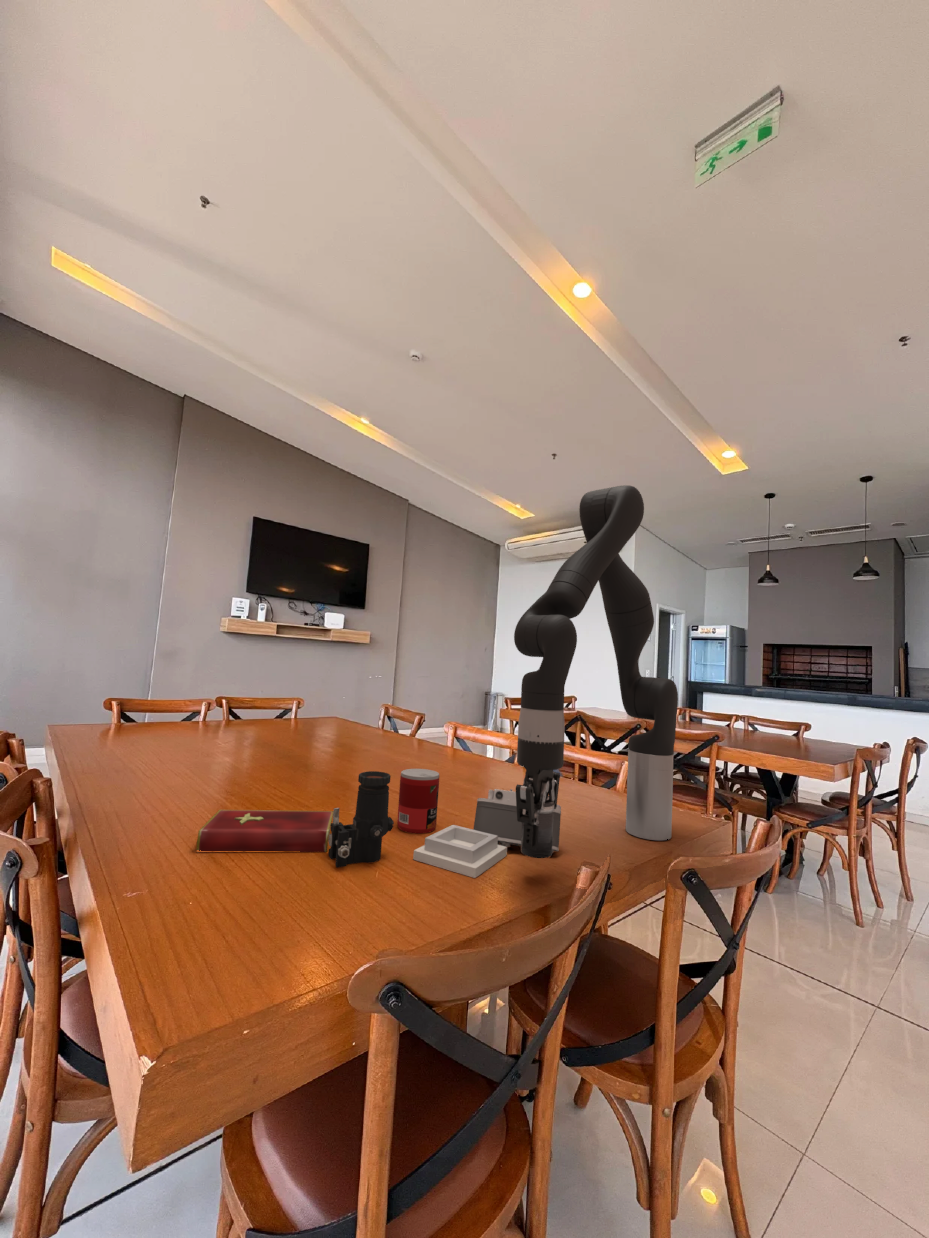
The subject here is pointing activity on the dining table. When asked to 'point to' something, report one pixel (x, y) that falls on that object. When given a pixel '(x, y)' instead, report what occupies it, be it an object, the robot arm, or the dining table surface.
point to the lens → (542, 833)
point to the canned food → (418, 800)
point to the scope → (363, 823)
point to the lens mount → (461, 850)
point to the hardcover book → (266, 831)
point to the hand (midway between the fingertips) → (536, 842)
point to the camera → (507, 818)
